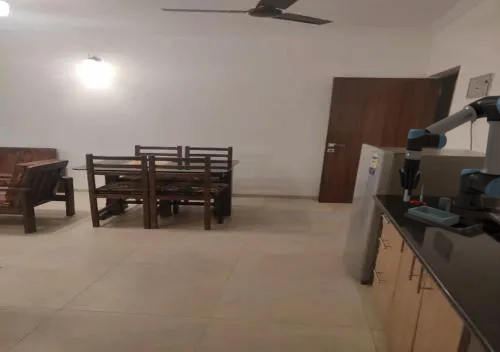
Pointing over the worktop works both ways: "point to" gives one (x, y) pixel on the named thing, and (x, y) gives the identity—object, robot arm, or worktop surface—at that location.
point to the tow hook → (420, 198)
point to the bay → (462, 232)
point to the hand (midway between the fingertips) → (406, 200)
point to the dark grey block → (444, 204)
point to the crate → (435, 215)
